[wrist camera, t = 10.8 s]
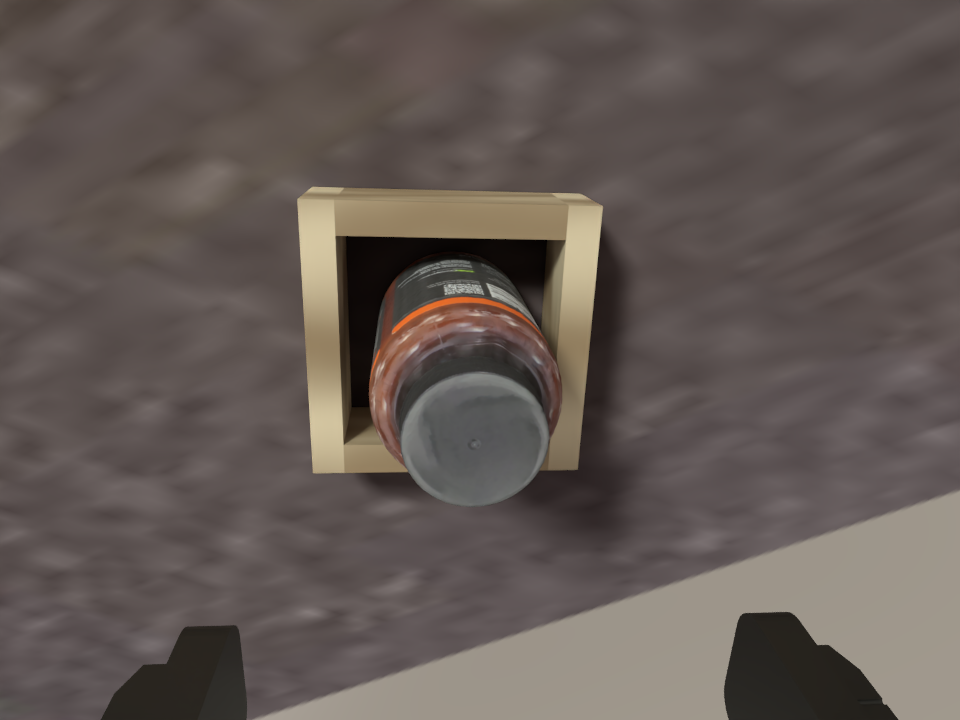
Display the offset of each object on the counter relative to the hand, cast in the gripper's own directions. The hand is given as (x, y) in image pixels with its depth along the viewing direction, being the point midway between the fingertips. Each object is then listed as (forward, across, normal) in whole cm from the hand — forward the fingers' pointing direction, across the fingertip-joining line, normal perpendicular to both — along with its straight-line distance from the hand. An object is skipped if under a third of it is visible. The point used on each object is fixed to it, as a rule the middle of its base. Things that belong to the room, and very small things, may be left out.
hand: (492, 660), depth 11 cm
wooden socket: (+19, 0, 0) cm, 19 cm away
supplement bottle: (+19, 0, 0) cm, 19 cm away
